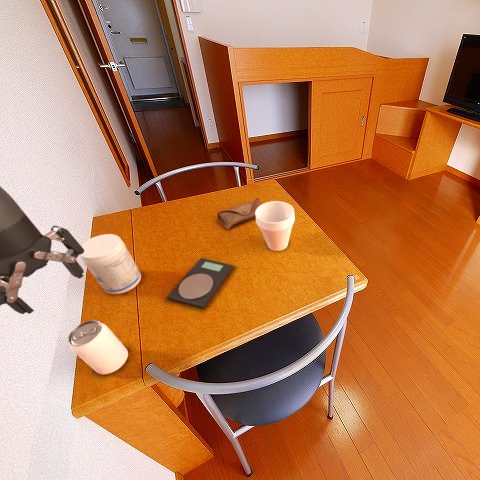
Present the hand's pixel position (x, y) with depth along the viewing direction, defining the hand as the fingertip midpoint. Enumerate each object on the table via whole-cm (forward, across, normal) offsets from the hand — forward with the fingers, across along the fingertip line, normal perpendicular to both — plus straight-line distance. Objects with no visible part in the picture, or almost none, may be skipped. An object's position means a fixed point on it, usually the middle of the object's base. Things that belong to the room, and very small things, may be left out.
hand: (55, 292), depth 50 cm
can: (+22, -1, -2) cm, 22 cm away
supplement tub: (+22, +16, +15) cm, 32 cm away
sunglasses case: (+22, +58, +2) cm, 62 cm away
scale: (+22, +25, -5) cm, 34 cm away
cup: (+22, +49, -18) cm, 57 cm away
